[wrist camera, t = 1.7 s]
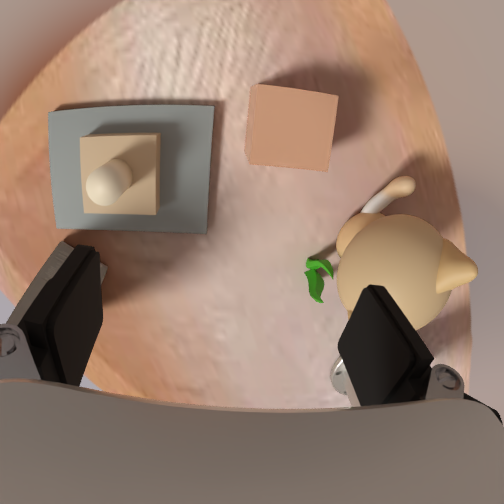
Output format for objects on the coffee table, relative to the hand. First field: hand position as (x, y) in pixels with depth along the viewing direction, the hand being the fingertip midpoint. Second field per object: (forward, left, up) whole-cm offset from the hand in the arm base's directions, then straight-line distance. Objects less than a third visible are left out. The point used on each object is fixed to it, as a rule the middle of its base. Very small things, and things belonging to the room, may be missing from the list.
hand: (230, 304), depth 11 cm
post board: (+9, 0, -21) cm, 23 cm away
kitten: (-15, +6, -21) cm, 26 cm away
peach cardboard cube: (-5, -5, -21) cm, 22 cm away
